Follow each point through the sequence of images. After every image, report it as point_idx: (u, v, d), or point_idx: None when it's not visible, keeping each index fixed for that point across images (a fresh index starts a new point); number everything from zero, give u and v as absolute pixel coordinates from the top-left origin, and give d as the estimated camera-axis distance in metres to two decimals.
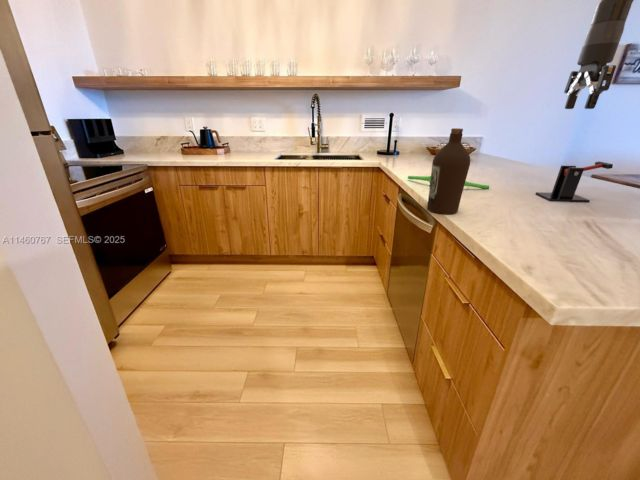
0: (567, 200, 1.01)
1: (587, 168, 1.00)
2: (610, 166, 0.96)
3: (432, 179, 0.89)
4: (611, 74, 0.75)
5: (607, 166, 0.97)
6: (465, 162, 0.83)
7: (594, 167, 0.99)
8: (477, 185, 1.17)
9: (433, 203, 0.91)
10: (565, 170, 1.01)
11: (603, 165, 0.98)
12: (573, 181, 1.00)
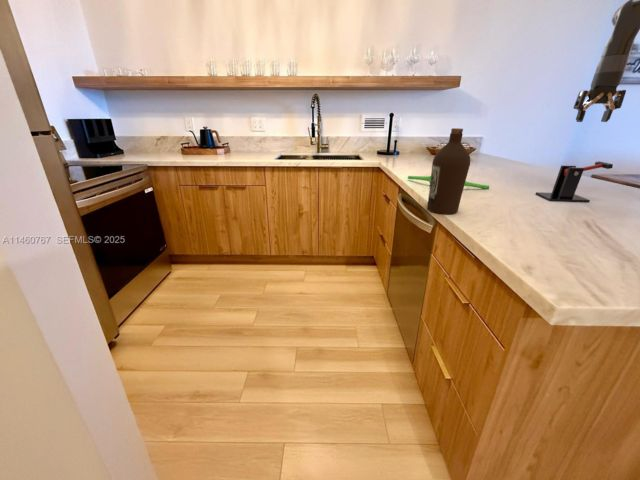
0: (567, 200, 1.01)
1: (587, 168, 1.00)
2: (610, 166, 0.96)
3: (432, 179, 0.89)
4: (581, 97, 1.03)
5: (607, 166, 0.97)
6: (465, 162, 0.83)
7: (594, 167, 0.99)
8: (477, 185, 1.17)
9: (433, 203, 0.91)
10: (565, 170, 1.01)
11: (603, 165, 0.98)
12: (573, 181, 1.00)
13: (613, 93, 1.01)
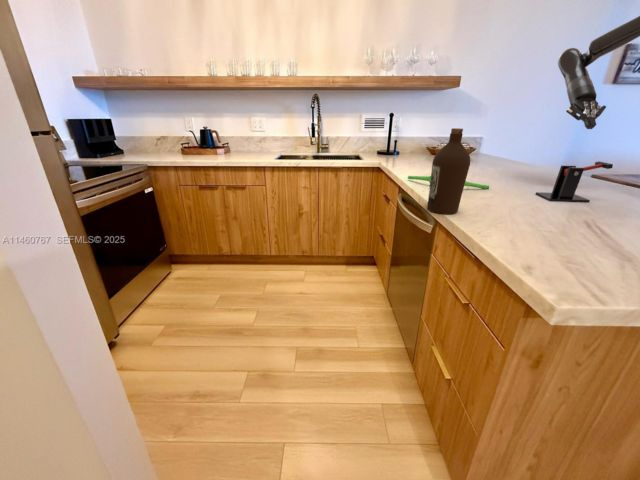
0: (567, 200, 1.01)
1: (587, 168, 1.00)
2: (610, 166, 0.96)
3: (432, 179, 0.89)
4: (574, 110, 1.08)
5: (607, 166, 0.97)
6: (465, 162, 0.83)
7: (594, 167, 0.99)
8: (477, 185, 1.17)
9: (433, 203, 0.91)
10: (565, 170, 1.01)
11: (603, 165, 0.98)
12: (573, 181, 1.00)
13: (595, 103, 1.08)
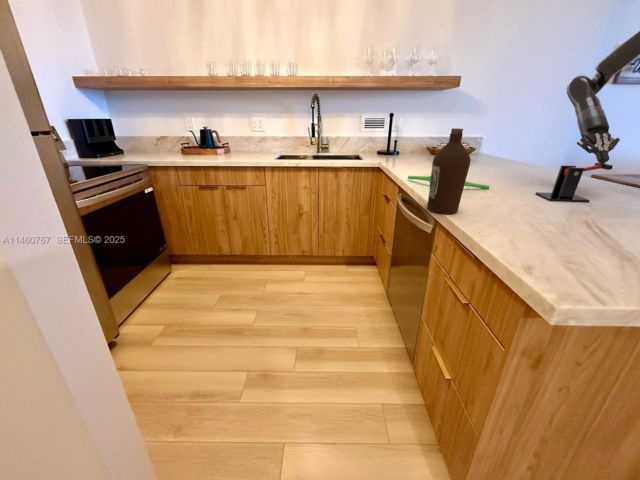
0: (567, 200, 1.01)
1: (587, 168, 1.00)
2: (610, 167, 0.97)
3: (432, 179, 0.89)
4: (585, 143, 1.01)
5: (607, 167, 0.97)
6: (465, 162, 0.83)
7: (594, 168, 0.99)
8: (477, 185, 1.17)
9: (433, 203, 0.91)
10: (566, 170, 1.01)
11: (603, 166, 0.99)
12: (573, 181, 1.00)
13: (608, 135, 1.01)
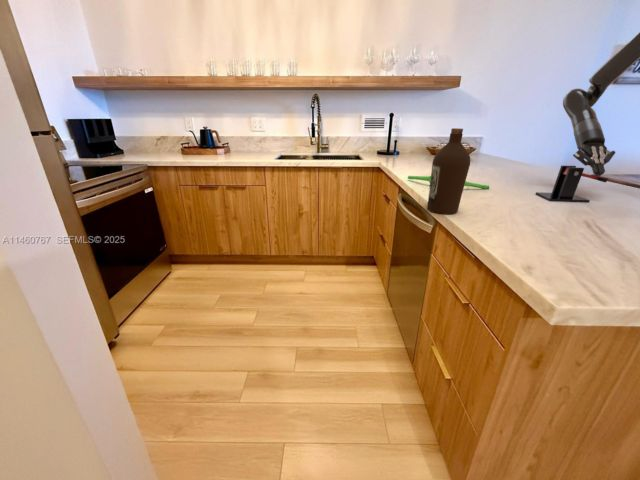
0: (567, 200, 1.01)
1: (585, 174, 1.01)
2: (605, 180, 0.98)
3: (432, 179, 0.89)
4: (581, 156, 1.03)
5: (602, 179, 0.99)
6: (465, 162, 0.83)
7: (591, 176, 1.01)
8: (477, 185, 1.17)
9: (433, 203, 0.91)
10: (567, 168, 1.01)
11: (599, 178, 1.00)
12: (573, 181, 1.00)
13: (604, 148, 1.03)
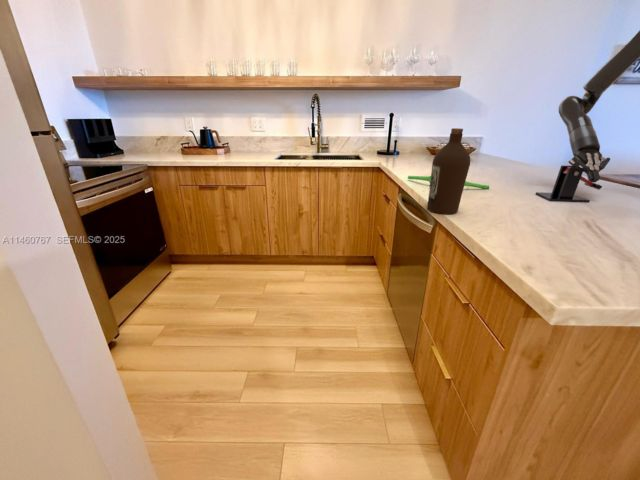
0: (567, 200, 1.01)
1: (582, 178, 1.01)
2: (599, 187, 1.00)
3: (432, 179, 0.89)
4: (576, 162, 1.04)
5: (597, 185, 1.00)
6: (465, 162, 0.83)
7: (587, 181, 1.01)
8: (477, 185, 1.17)
9: (433, 203, 0.91)
10: (568, 167, 1.01)
11: (594, 184, 1.01)
12: (573, 181, 1.00)
13: (599, 155, 1.04)
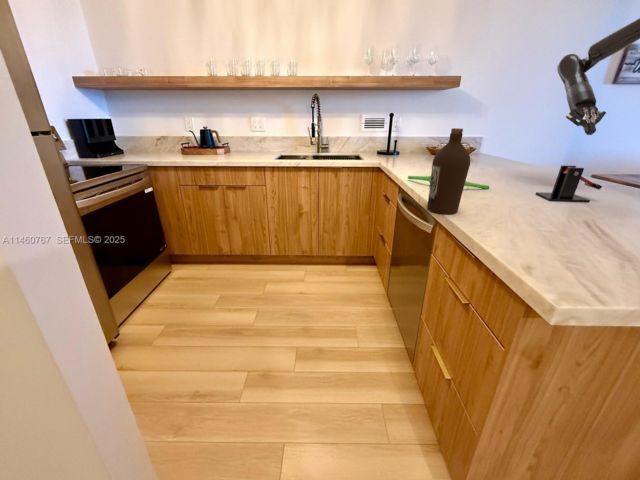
0: (567, 200, 1.01)
1: (582, 178, 1.01)
2: (599, 187, 1.00)
3: (432, 179, 0.89)
4: (573, 116, 1.08)
5: (597, 185, 1.00)
6: (465, 162, 0.83)
7: (587, 181, 1.01)
8: (477, 185, 1.17)
9: (433, 203, 0.91)
10: (568, 167, 1.01)
11: (594, 184, 1.01)
12: (573, 181, 1.00)
13: (595, 109, 1.08)
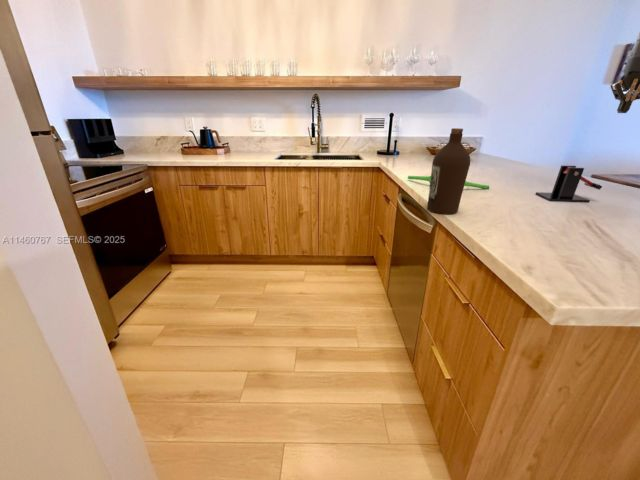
0: (567, 200, 1.01)
1: (582, 178, 1.01)
2: (599, 187, 1.00)
3: (432, 179, 0.89)
4: (616, 90, 0.99)
5: (597, 185, 1.00)
6: (465, 162, 0.83)
7: (587, 181, 1.01)
8: (477, 185, 1.17)
9: (433, 203, 0.91)
10: (568, 167, 1.01)
11: (594, 184, 1.01)
12: (573, 181, 1.00)
13: None
